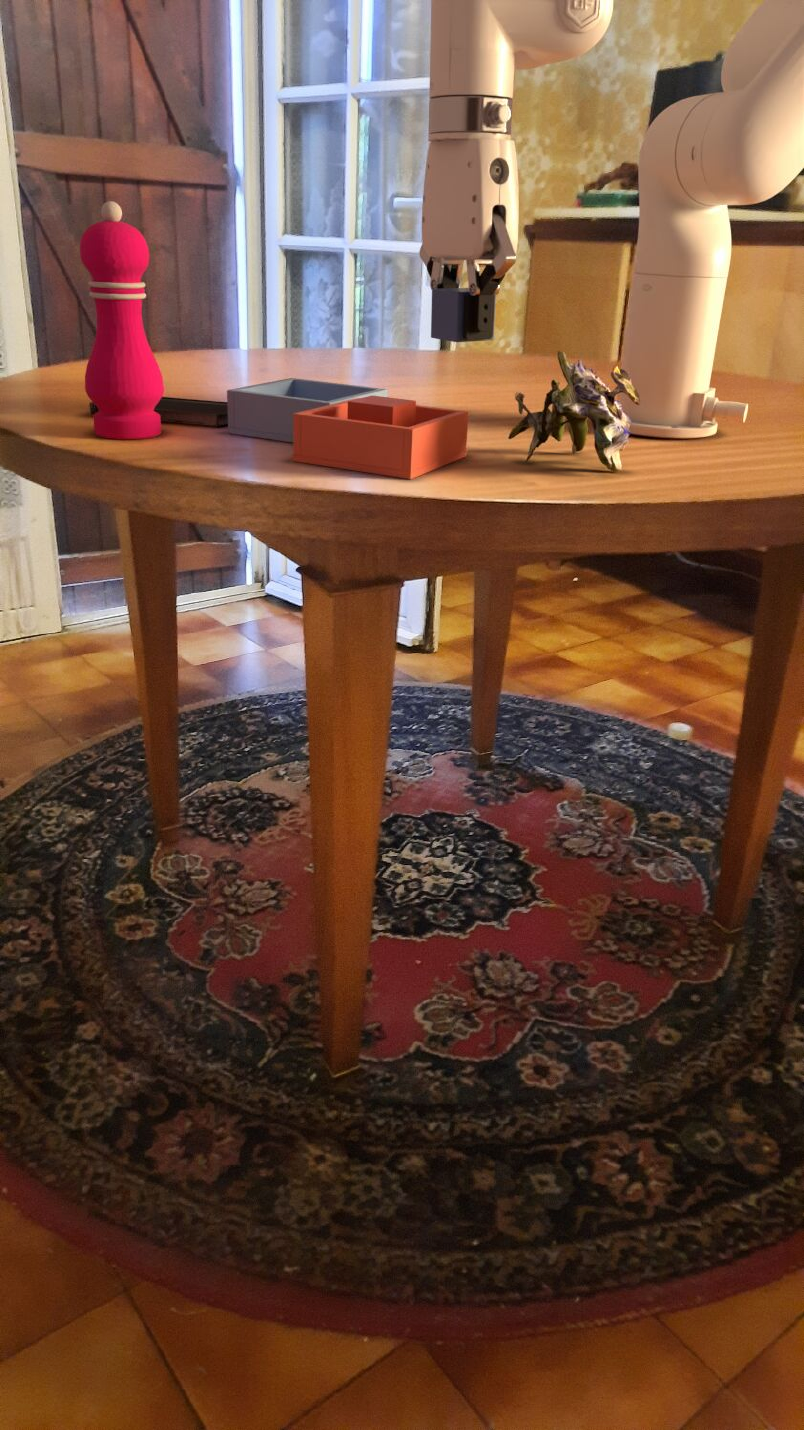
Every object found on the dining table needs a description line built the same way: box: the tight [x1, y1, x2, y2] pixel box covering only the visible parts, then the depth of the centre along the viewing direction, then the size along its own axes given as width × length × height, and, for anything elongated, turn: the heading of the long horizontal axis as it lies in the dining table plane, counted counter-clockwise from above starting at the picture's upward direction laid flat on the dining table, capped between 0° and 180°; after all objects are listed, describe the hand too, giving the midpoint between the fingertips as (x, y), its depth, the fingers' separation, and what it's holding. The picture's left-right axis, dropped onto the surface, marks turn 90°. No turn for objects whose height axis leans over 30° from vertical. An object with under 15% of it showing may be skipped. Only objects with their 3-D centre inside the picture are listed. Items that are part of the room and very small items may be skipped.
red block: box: [348, 395, 417, 427], centre depth 91 cm, size 4×4×4 cm
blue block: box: [430, 287, 497, 343], centre depth 100 cm, size 4×4×4 cm
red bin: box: [292, 398, 470, 480], centre depth 91 cm, size 12×12×4 cm
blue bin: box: [226, 377, 389, 444], centre depth 102 cm, size 12×12×4 cm
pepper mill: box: [79, 200, 165, 440], centre depth 94 cm, size 7×7×20 cm
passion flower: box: [507, 350, 641, 473], centre depth 92 cm, size 11×11×12 cm
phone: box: [89, 396, 228, 427], centre depth 107 cm, size 8×1×15 cm
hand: (462, 334), depth 101 cm, fingers closed on blue block, 4 cm apart
